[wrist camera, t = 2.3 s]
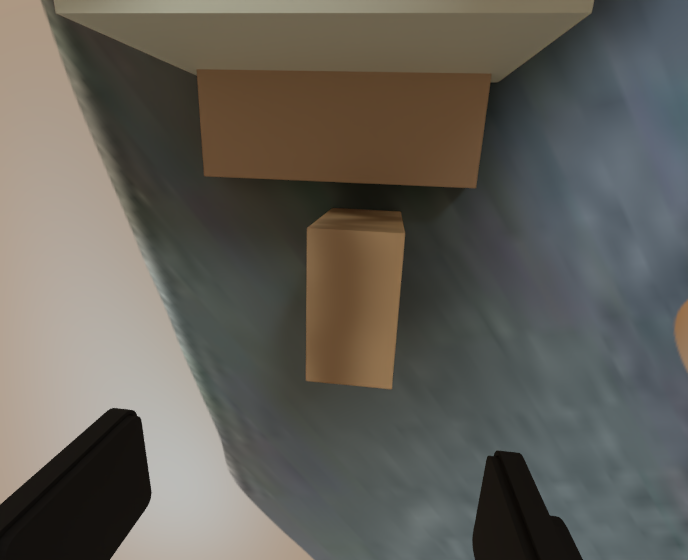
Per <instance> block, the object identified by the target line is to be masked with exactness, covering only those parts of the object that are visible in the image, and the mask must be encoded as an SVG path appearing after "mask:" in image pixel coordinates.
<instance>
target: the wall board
mask: <svg viewBox="0 0 688 560" xmlns="http://www.w3.org/2000/svg"><path fill="white" fill-rule="evenodd" d="M593 4H594V0H54V6H55V12H56V14H58V15H61V16H63V17H65V18H68V19H70V20H72V21H74V22H77V23H79V24H81V25H83V26H86V27H88V28H90V29H92V30H95V31H97V32H99V33H101V34H104V35H106V36H108V37H110V38H113V39H115V40H117V41H119V42H122V43H124V44H126V45H128V46H131V47H133V48H135V49H137V50H140V51H142V52H144V53H146V54H149V55H151V56H153V57H155V58H158V59H160V60H162V61H164V62H167V63H169V64H171V65H173V66H176V67H178V68H180V69H182V70H185V71H187V72H189V73H192V74H194V75H196V76H197V82H198V96H199V110H200V124H201V138H202V152H203V166H204V176H211V177H234V178H256V179H279V180H301V181H324V182H346V183H369V184H391V185H414V186H436V187H459V188H476V184H477V177H478V169H479V162H480V155H481V148H482V140H483V133H484V126H485V118H486V111H487V104H488V97H489V89H490V82H499V81H501V80H502V79H503V78H505V77H506V76H507V75H509V74H510V73H511V72H513V71H514V70H515V69H517V68H518V67H519V66H521V65H522V64H523V63H525V62H526V61H528V60H529V59H530V58H532V57H533V56H534V55H536V54H537V53H538V52H540V51H541V50H542V49H544V48H545V47H546V46H548V45H549V44H550V43H552V42H553V41H554V40H556V39H557V38H558V37H560V36H561V35H563V34H564V33H565V32H567V31H568V30H569V29H571V28H572V27H573V26H575V25H576V24H577V23H579V22H580V21H581V20H583V19H584V18H585V17H587V16H588V15H589V14H591V13H592V9H593Z"/></svg>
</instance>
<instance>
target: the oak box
mask: <svg viewBox="0 0 688 560" xmlns="http://www.w3.org/2000/svg"><path fill="white" fill-rule="evenodd" d="M404 241H405V230H404V225H403V220H402V215H401V211H383V210H363V209H344V208H332V209H330V210H329V211H328V212H327V213H325V214H324V215H323V216H322V217H320V218H319V219H318V220H316V221H315V222H314V223H313V224H311V225H310V226H309V227H308V228H307V299H306V381H312V382H322V383H333V384H343V385H353V386H363V387H373V388H384V389H392V381H393V369H394V358H395V346H396V334H397V323H398V311H399V299H400V288H401V276H402V265H403V253H404Z"/></svg>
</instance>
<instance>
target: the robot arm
mask: <svg viewBox="0 0 688 560" xmlns="http://www.w3.org/2000/svg"><path fill="white" fill-rule="evenodd" d="M145 451H146V450H145V443H144V436H143V429H142V422H141V419H140V417H138V416H137V414H136V412H135V411H133V410H127V409H118V408H112V409H110V410H108V411H107V412H106V413H104V414H103V415H102V416H101V417H100V418H99V419H98V420H96V422H94V423H93V424H92V425H91V426H90V427H88V428H87V429H86V430H85V431H84V432H83V433H82V434H81V435H79V436H78V437H77V438H76V439H75V440H74V441H72V442H71V443H70V444H69V445H68V446H67V447H66V448H64V449H63V450H62V451H61V452H60V453H59V454H58V455H56V456H55V457H54V458H53V459H52V460H51V461H50V462H49V463H47V464H46V465H45V466H44V467H43V468H42V469H41V470H39V471H38V472H37V473H36V474H35V475H34V476H32V477H31V478H30V479H29V480H28V481H27V482H26V483H24V484H23V485H22V486H21V487H20V488H19V489H18V490H16V491H15V492H14V493H13V494H12V495H11V496H10V497H8V498H7V499H6V500H5V501H4V502H3V503H2V504H1V505H0V560H110V559H111V557H112V556H113V554H114V553H115V552H116V550H117V549H118V547H119V546H120V545H121V543H122V542H123V540H124V539H125V537H126V536H127V535H128V533H129V532H130V530H131V529H132V527H133V526H134V525H135V523H136V522H137V520H138V519H139V518H140V516H141V515H142V513H143V512H144V511H145V509H146V507H147V506H148V504H149V502H150V499H151V486H150V479H149V472H148V464H147V457H146V452H145ZM472 541H473V552H474V557H475V560H583V559H582V557H581V555H580V553H579V551H578V549H577V547H576V545H575V543H574V541H573V539H572V537H571V534H570V532H569V530H568V528H567V527H566V525H565V523H564V522H563V520H562V519H561V518H559V517H556V516H550V515H549V513H548V511H547V508H546V506H545V504H544V502H543V500H542V497H541V495H540V493H539V491H538V489H537V486H536V484H535V482H534V480H533V478H532V476H531V473H530V471H529V469H528V467H527V465H526V462H525V460H524V458H523V456H522V455H521V454H520V453H515V452H506V451H496V452H495V454H494V456H488V457H487V460H486V466H485V471H484V476H483V482H482V487H481V493H480V498H479V504H478V509H477V514H476V520H475V525H474V531H473V540H472Z"/></svg>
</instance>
